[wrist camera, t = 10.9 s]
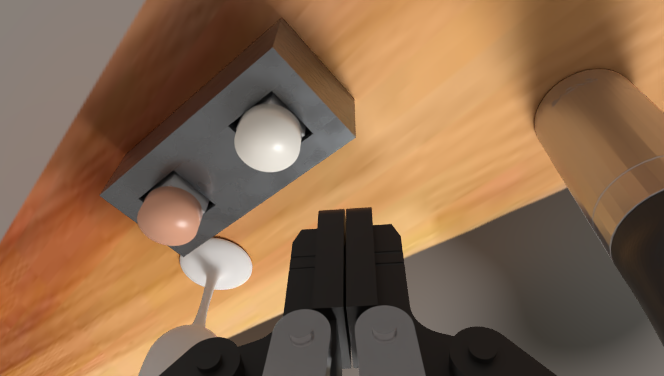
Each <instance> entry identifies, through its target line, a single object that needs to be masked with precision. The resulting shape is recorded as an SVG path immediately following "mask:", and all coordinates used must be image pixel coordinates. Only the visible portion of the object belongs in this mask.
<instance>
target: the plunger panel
mask: <svg viewBox="0 0 664 376" xmlns="http://www.w3.org/2000/svg"><path fill="white" fill-rule="evenodd" d="M271 91H272V92H273V93H274V94H275V95H276V96H277V97H278V98H279V99H280V100H281V101H282V102H283V103H284V104H285V105H286V106H287V107H288V108H289V109H290V110H291V111H292V112H293V113H294V114H295V115H296V116H297V117H298V118H299V119H300V120H301V121H302V122H303V123H304V124H305V125H306V129H305V136H303V137H302V138H301V146H300V152H299V155H298V157H297V159H296V161H295V162H294V163H293V164H292V165H291V166H289V167H288V168H286V169H284V170H281V171H277V172H263V171H259V170H256V169H254V168H251V167H250V166H248V165H247V164H246V163H244V162H243V161H242V160H241V158H240V157H239V156H238V154H237V152H236V149H235V144H234V138H235V134H236V131H237V130H236V127H237V124H238V121H239V119H240V116H241V115H242V114H244V113H245V112H246V111H247V110H249V109H250V108H251V107H252V106H254V105H255V104H256V103H257V102H258V101H260V100H261V99H262V98H263V97H265V96H266V95H267V94H268V93H270V92H271ZM354 138H356V130H355V104H354V99H353V97H352V96H351V95H350V94H349V93H348V92H347V91H346V90H345V88H344V87H343V86H342V85H341V84H340V83H339V82H338V80H337V79H336V78H335V77H334V76H333V75H332V74H331V73H330V71H329V70H328V69H327V68H326V67H325V66H324V65H323V63H322V62H321V61H320V60H319V59H318V58H317V57H316V55H315V54H314V53H313V52H312V51H311V50H310V49H309V48H308V46H307V45H306V44H305V43H304V42H303V41H302V40H301V38H300V37H299V36H298V35H297V34H296V33H295V32H294V31H293V29H292V28H291V27H290V26H289V25H288V24H287V23H286V21H285V20H284V19H283V18H281V19H280V20H278V21H277V22H276V23H275V24H274V25H273V26H272V27H270V28H269V29H268V30H267V31H266V32H265V33H264V34H262V35H261V36H260V37H259V38H258V39H257V40H256V41H254V42H253V43H252V44H251V45H250V46H249V47H248V48H247V49H245V50H244V51H243V52H242V53H241V54H240V55H239V56H237V57H236V58H235V59H234V60H233V61H232V62H231V63H229V64H228V65H227V66H226V67H225V68H224V69H223V70H221V71H220V72H219V73H218V74H217V75H216V76H215V77H214V78H212V79H211V80H210V81H209V82H208V83H207V84H206V85H204V86H203V87H202V88H201V89H200V90H199V91H198V92H196V93H195V94H194V95H193V96H192V97H191V98H190V99H188V100H187V101H186V102H185V103H184V104H183V105H182V106H181V107H179V108H178V109H177V110H176V111H175V112H174V113H173V114H171V115H170V116H169V117H168V118H167V119H166V120H165V121H163V122H162V123H161V124H160V125H159V126H158V127H157V128H155V129H154V130H153V131H152V132H151V133H150V134H149V135H147V136H146V137H145V138H144V139H143V140H142V141H141V142H140V143H138V144H137V145H136V146H135V147H134V148H133V149H132V150H130V151H129V152H128V153H127V154H126V155H125V157H124V158H123V160H122V161H121V163H120V164H119V166H118V167H117V169H116V171H115V172H114V174H113V175H112V177H111V178H110V180H109V181H108V183H107V184H106V186H105V187H104V189H103V191H102V192H101V194H100V195H99V196H101V197H102V198H103V199H105V200H106V201H107V202H109V203H110V204H111V205H113V206H114V207H116V208H117V209H118V210H120V211H121V212H122V213H124V214H125V215H127V216H128V217H129V218H131V219H132V220H133V221H135V222H136V223H137V224H138V222H137V215H138V212H139V210H140V208H141V206H142V204H143V202H144V200H145V198H146V197H147V195H148V194H149V193H150V191H151V189H152V187H153V186H155V185H156V184H157V183H158V182H160V181H161V180H162V179H163V178H165V177H166V176H167V175H168V174H169V173H171V172H172V171H173V170H174V171H175V172H176V173H177V174H178V175H180V176H181V177H182V178H183V179H184V180H186V181H187V182H188V183H189V184H191V185H192V186H193V187H194V188H195V189H197V190H198V191H199V192H200V193H202V194H203V195H204V196H205V197H206V198H208V199H209V203H208V206H207V208H206V211H205V213H203V216H202V219H201V222H200V225H199V228H198V231H197V233H196V236H195V237H194V238H193V239H192V240H191V241H190V242H188V243H186V244H183V245H179V246H169V247H170V248H172V249H173V250H174V251H176V252H177V253H178V254H180V255H181V256H183V257H185V256H186V255H187V254H189V253H190V252H192V251H193V250H195V249H196V248H198V247H199V246H200V245H202V244H203V243H205V242H206V241H208V240H209V239H210V238H212V237H213V236H215V235H216V234H218V233H219V232H221V231H222V230H223V229H225V228H226V227H228V226H229V225H231V224H232V223H233V222H235V221H236V220H238V219H239V218H241V217H242V216H244V215H245V214H246V213H248V212H249V211H251V210H252V209H254V208H255V207H256V206H258V205H259V204H261V203H262V202H264V201H265V200H266V199H268V198H269V197H271V196H272V195H274V194H275V193H277V192H278V191H279V190H281V189H282V188H284V187H285V186H287V185H288V184H289V183H291V182H292V181H294V180H295V179H297V178H298V177H300V176H301V175H302V174H304V173H305V172H307V171H308V170H310V169H311V168H312V167H314V166H315V165H317V164H318V163H320V162H321V161H323V160H324V159H325V158H327V157H328V156H330V155H331V154H333V153H334V152H335V151H337V150H338V149H340V148H341V147H343V146H344V145H346V144H347V143H348V142H350V141H351V140H353V139H354ZM167 246H168V245H167Z"/></svg>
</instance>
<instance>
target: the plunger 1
mask: <svg viewBox="0 0 664 376" xmlns="http://www.w3.org/2000/svg"><path fill="white" fill-rule="evenodd" d="M208 203H209V199H208V198H206V197H205V196H204V195H203V194H202V193H200V192H199V191H198V190H197V189H195V188H194V187H193V186H192V185H191V184H189V183H188V182H187V181H186V180H184V179H183V178H182V177H181V176H180V175H178V174H177V173H176V172H175V171H174V170H173V171H172V172H171V173H169V174H168V175H167V176H166V177H165V178H163V179H162V180H161V181H160V182H158V183H157V184H156V185H155V186H153V187H152V189H151V191H150V193H149V194H148V195H147V197H146V198H145V200H144V202H143V204H142V206H141V208H140V210H139V212H138V215H137V222H138V225H139V227H140V229H141V231H142V232H143V233H144V234H145V235H146V236H147V237H148V238H150V239H151V240H153V241H155V242H157V243H160V244H163V245H168V246H179V245H183V244H186V243H188V242H190V241H191V240H192V239H193V238H194V237H195V236H196V233H197V231H198V228H199V225H200V222H201V219H202V216H203V213H205V211H206V208H207V206H208Z"/></svg>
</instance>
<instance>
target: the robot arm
mask: <svg viewBox="0 0 664 376" xmlns="http://www.w3.org/2000/svg"><path fill="white" fill-rule="evenodd" d="M535 132H536V135H537V137H538V139H539V141H540V143H541V144H542V146H543V148H544V149H545V151H546V152H547V154H548V156H549V157H550V159H551V161H552V163H553V164H554V166H555V168H556V169H557V171H558V173H559V174H560V176H561V178H562V179H563V181H564V182H565V184H566V186H567V187H568V189H569V191H570V192H571V194H572V196H573V197H574V199H575V200H576V202H577V204H578V206H579V207H580V209H581V210H582V212H583V214H584V215H585V217H586V219H587V220H588V222H589V223H590V225H591V227H592V228H593V230H594V232H595V234H596V235H597V237H598V238H599V240H600V241H601V243H602V245H603V246H604V248H605V249H606V251H607V253H608V254H609V256H610V258H611V259H612V261H613V263H614V264H615V266H616V267H617V269H618V271H619V272H620V274H621V275H622V277H623V278H624V280H625V281H626V283H627V284H628V286H629V287H630V289H631V290H632V292H633V294H634V296H635V297H636V299H637V300H638V302H639V304H640V305H641V307H642V309H643V310H644V312H645V314H646V315H647V317H648V319H649V321H650V322H651V324H652V326H653V328H654V329H655V331H656V333H657V335H658V337H659V339H660V340H661V342H662V344H663V346H664V112H663V111H662V110H660V109H659V108H658V107H657V106H656V105H655V104H654V103H653V102H652V101H651V100H650V99H649V98H648V97H647V96H645V95H644V94H643V93H642V92H641V91H640V90H639V89H638V88H637V87H636V86H634V85H633V84H632V83H631V82H630V81H629V80H628V79H627V78H626V77H625V76H623V75H621V74H619V73H618V72H615V71H611V70H607V69H592V70H585V71H582V72H579V73H576V74H573V75H571V76H570V77H568V78H566V79H564V80H562V81H561V82H560V83H558V84H557V85H556V86H554V87H553V88H552V89H551V90H550V91H549V92H548V93H547V94H546V96H545V97H544V99H543V100H542V102H541V103H540V105H539V107H538V110H537V112H536V116H535ZM289 269H290V271H289V276H288V283H287V291H286V299H285V307H284V314H283V317H282V318H281V319H280V320H279V321H278V322H277V324H276V325H275V327H274V329H273V331H272V332H271V333H270V334H269V335H267V336H266V337H264V338H262V339H260V340H257V341H255V342H251V343H249V344H246V345H242V346H239V347H237V346H236V344H235V343H234V342H232V341H230V340H229V339H226V338H222V337H213V338H208V339H205V340H203V341H200V342H198V343H197V344H195V345H194V346H192V347H191V348H190V349H189V350H188V351H187V352H185V353H184V354H183V355H182V356H181V357H180V358H178V359H177V360H176V361H175V362H174V363H173V364H172V365H170V366H169V367H168V368H167V369H166V370H165V371H163V372H162V373H161V374H160V375H159V376H342V369H345V368H351V350H352V358H353V366H354V368H359V376H556V375H555V374H554V373H553V372H551V371H549V369H547V368H546V367H545V366H543V365H542V364H541V363H539V362H538V361H537V360H535V359H534V358H533V357H531V356H530V355H529V354H527V353H526V352H524V351H523V350H522V349H521V348H519V347H518V346H517V345H515V344H514V343H513V342H511V341H510V340H509V339H507V338H506V337H505V336H503V335H502V334H500V333H499V332H497V331H495V330H493V329H489V328H485V327H470V328H466V329H464V330H461V331H460V332H458V333H457V334H456V335H455V336H451V335H446V334H442V333H438V332H435V331H432V330H430V329H428V328H426V327H424V326H423V325H421V324H420V323H419V322H418V321H417V320H416V319H415V317H414V316H413V314H412V312H411V309H410V304H409V296H408V289H407V281H406V274H405V266H404V258H403V251H402V243H401V236H400V235H399V233H398V232H397V231H396V229H395V228H394V227H393V226H392V224H386V225H373V222H372V207H368V208H353V209H346V217H345V210H344V209H339V210H323V211H319V214H318V228H317V229H306V230H301V231H300V233H299V234H298V236H297V237H296V239H295V240H294V242H293V244H292V252H291V260H290V268H289Z"/></svg>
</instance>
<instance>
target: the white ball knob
mask: <svg viewBox="0 0 664 376" xmlns="http://www.w3.org/2000/svg"><path fill="white" fill-rule="evenodd" d="M305 129H306V125H305V124H304V123H303V122H302V121H301V120H300V119H299V118H298V117H297V116H296V115H295V114H294V113H293V112H292V111H291V110H290V109H289V108H288V107H287V106H286V105H285V104H284V103H283V102H282V101H281V100H280V99H279V98H278V97H277V96H276V95H275V94H274V93H273V92H272V91H271V92H270V93H268V94H267V95H266V96H265V97H263V98H262V99H261V100H260V101H258V102H257V103H256V104H255V105H254V106H252V107H251V108H250V109H249V110H247V111H246V112H245V113H244V114H242V115H241V116H240V119H239V121H238V124H237V127H236V130H237V131H236V134H235V138H234V144H235V149H236V152H237V154H238V156H239V157H240V158H241V160H242V161H243V162H244V163H246V164H247V165H248V166H250V167H251V168H254V169H256V170H259V171H263V172H277V171H281V170H284V169H286V168H288V167H289V166H291V165H292V164H293V163H294V162H295V161H296V159H297V157H298V155H299V152H300V146H301V138H302V137H303V136H305Z"/></svg>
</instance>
